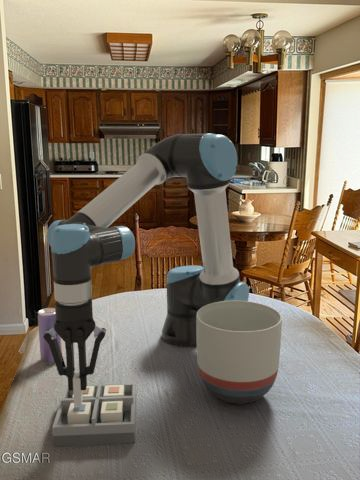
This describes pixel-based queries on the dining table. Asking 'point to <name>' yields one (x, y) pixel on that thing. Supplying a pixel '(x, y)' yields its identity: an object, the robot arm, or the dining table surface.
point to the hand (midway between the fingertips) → (78, 402)
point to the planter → (238, 349)
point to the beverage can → (44, 323)
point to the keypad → (96, 419)
